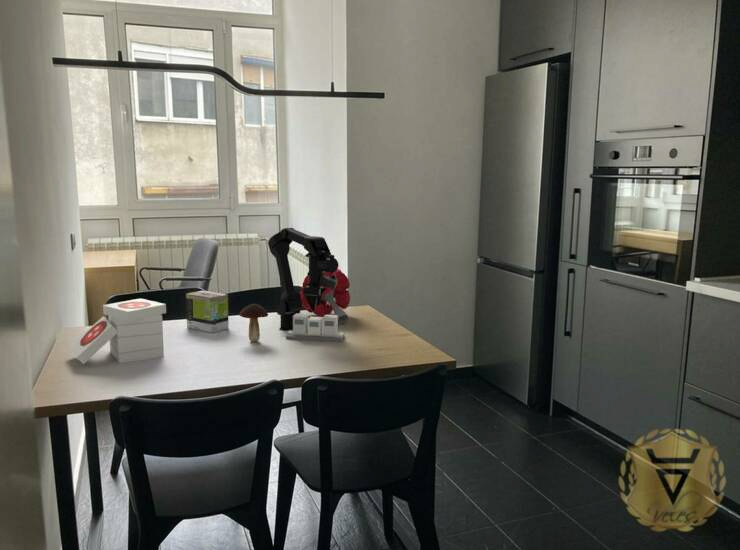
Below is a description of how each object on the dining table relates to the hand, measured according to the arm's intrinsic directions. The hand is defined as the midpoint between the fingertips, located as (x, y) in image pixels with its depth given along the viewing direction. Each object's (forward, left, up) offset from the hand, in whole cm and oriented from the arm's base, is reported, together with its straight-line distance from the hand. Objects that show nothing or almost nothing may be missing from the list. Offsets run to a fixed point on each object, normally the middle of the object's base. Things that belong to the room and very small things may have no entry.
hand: (315, 308), depth 235 cm
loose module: (0, 0, -10) cm, 10 cm away
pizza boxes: (-62, -36, -12) cm, 73 cm away
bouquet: (-2, +33, -12) cm, 36 cm away
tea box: (-47, +6, -12) cm, 49 cm away
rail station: (0, 0, -12) cm, 12 cm away
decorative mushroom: (-22, -10, -12) cm, 27 cm away
